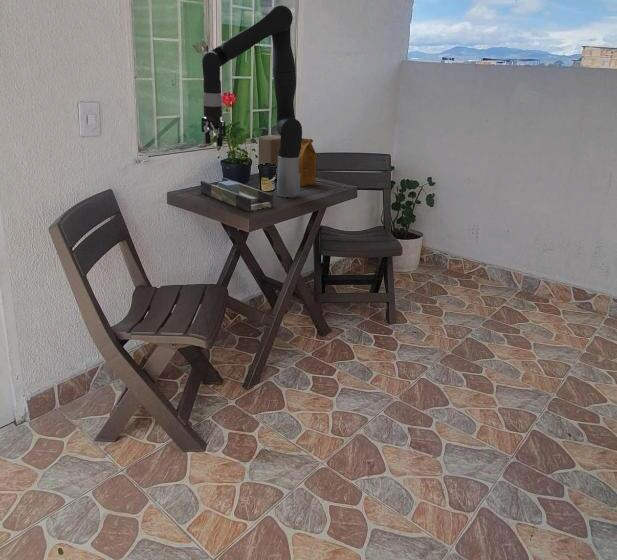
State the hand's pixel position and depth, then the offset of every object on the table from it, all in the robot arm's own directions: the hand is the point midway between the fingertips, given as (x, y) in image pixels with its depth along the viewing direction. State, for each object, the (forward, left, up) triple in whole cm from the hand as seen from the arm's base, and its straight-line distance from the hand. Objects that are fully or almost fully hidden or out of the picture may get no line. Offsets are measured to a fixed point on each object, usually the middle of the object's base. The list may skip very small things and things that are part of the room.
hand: (213, 145), depth 232 cm
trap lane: (-3, +11, -21) cm, 24 cm away
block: (-41, -12, -21) cm, 48 cm away
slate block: (-3, +6, -19) cm, 20 cm away
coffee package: (-46, +5, -21) cm, 51 cm away
